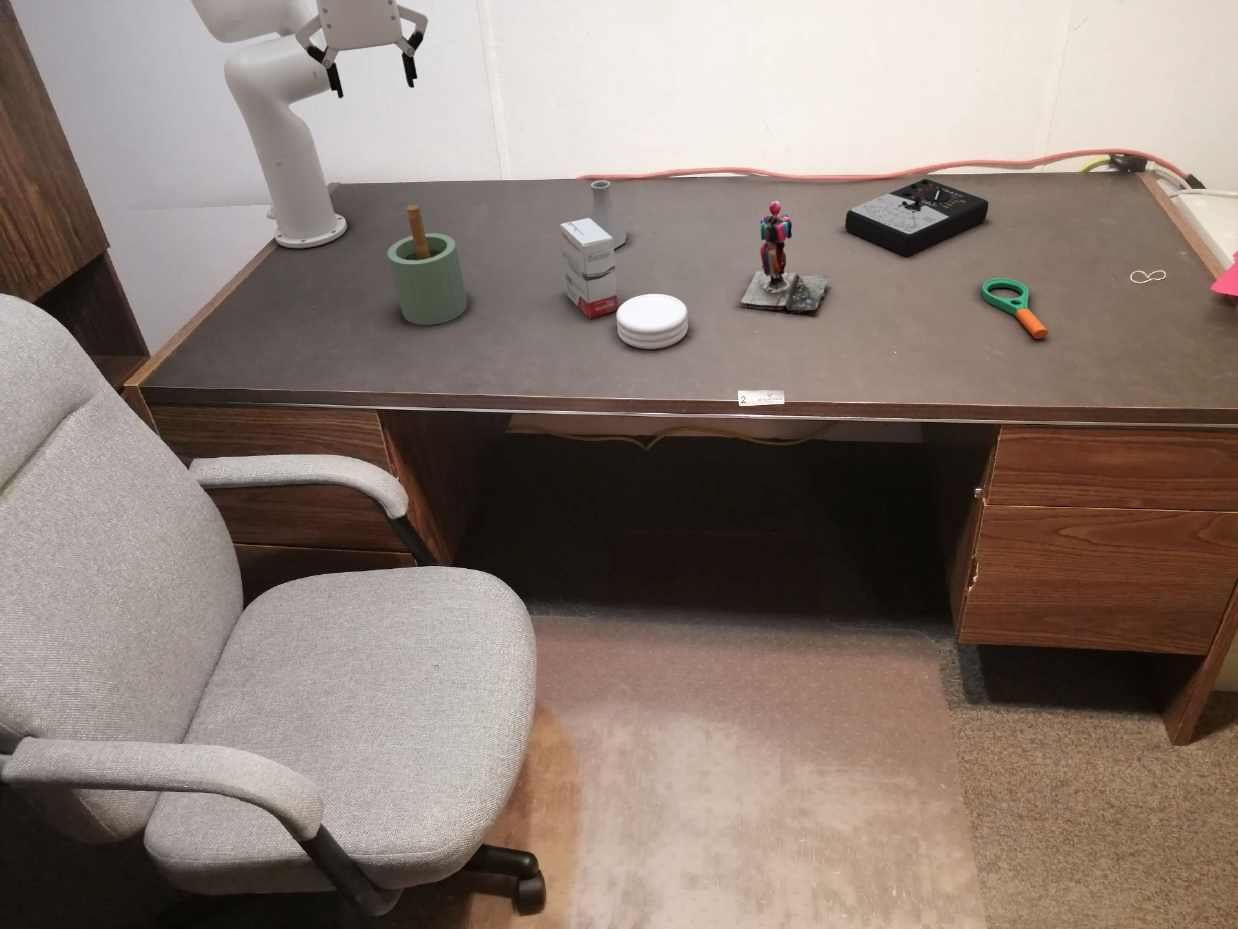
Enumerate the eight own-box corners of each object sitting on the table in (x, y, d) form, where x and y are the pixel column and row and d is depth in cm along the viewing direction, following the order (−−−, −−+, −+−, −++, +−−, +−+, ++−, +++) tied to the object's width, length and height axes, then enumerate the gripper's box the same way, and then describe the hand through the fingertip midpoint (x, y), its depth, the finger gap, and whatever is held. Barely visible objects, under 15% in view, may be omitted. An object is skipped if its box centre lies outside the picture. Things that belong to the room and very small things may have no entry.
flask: (577, 248, 148) (570, 190, 142) (594, 230, 153) (588, 173, 147) (617, 253, 146) (612, 194, 140) (633, 234, 151) (629, 176, 145)
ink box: (619, 310, 132) (614, 236, 124) (589, 320, 130) (581, 245, 123) (595, 287, 138) (588, 214, 130) (566, 295, 136) (557, 223, 129)
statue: (741, 314, 131) (730, 218, 122) (758, 283, 137) (748, 189, 128) (816, 316, 126) (810, 216, 117) (829, 283, 133) (825, 187, 124)
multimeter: (986, 221, 146) (992, 192, 143) (905, 258, 138) (909, 228, 135) (922, 197, 154) (927, 169, 151) (843, 231, 147) (846, 202, 143)
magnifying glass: (974, 287, 130) (976, 277, 129) (1015, 283, 130) (1017, 273, 129) (1016, 342, 118) (1019, 331, 117) (1061, 338, 118) (1065, 327, 117)
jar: (389, 318, 135) (373, 257, 128) (428, 288, 141) (415, 229, 135) (442, 330, 131) (428, 268, 124) (479, 299, 137) (468, 238, 131)
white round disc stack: (666, 357, 121) (665, 335, 119) (604, 340, 126) (602, 318, 123) (700, 322, 127) (700, 301, 125) (640, 307, 132) (639, 286, 130)
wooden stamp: (413, 308, 135) (389, 211, 125) (431, 294, 138) (409, 198, 128) (437, 314, 133) (415, 216, 123) (455, 299, 136) (435, 202, 126)
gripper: (410, -64, 116) (434, 73, 128) (274, -49, 113) (311, 90, 124) (417, -53, 111) (442, 89, 122) (274, -37, 108) (313, 108, 119)
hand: (376, 89), depth 123 cm, fingers open, 9 cm apart
